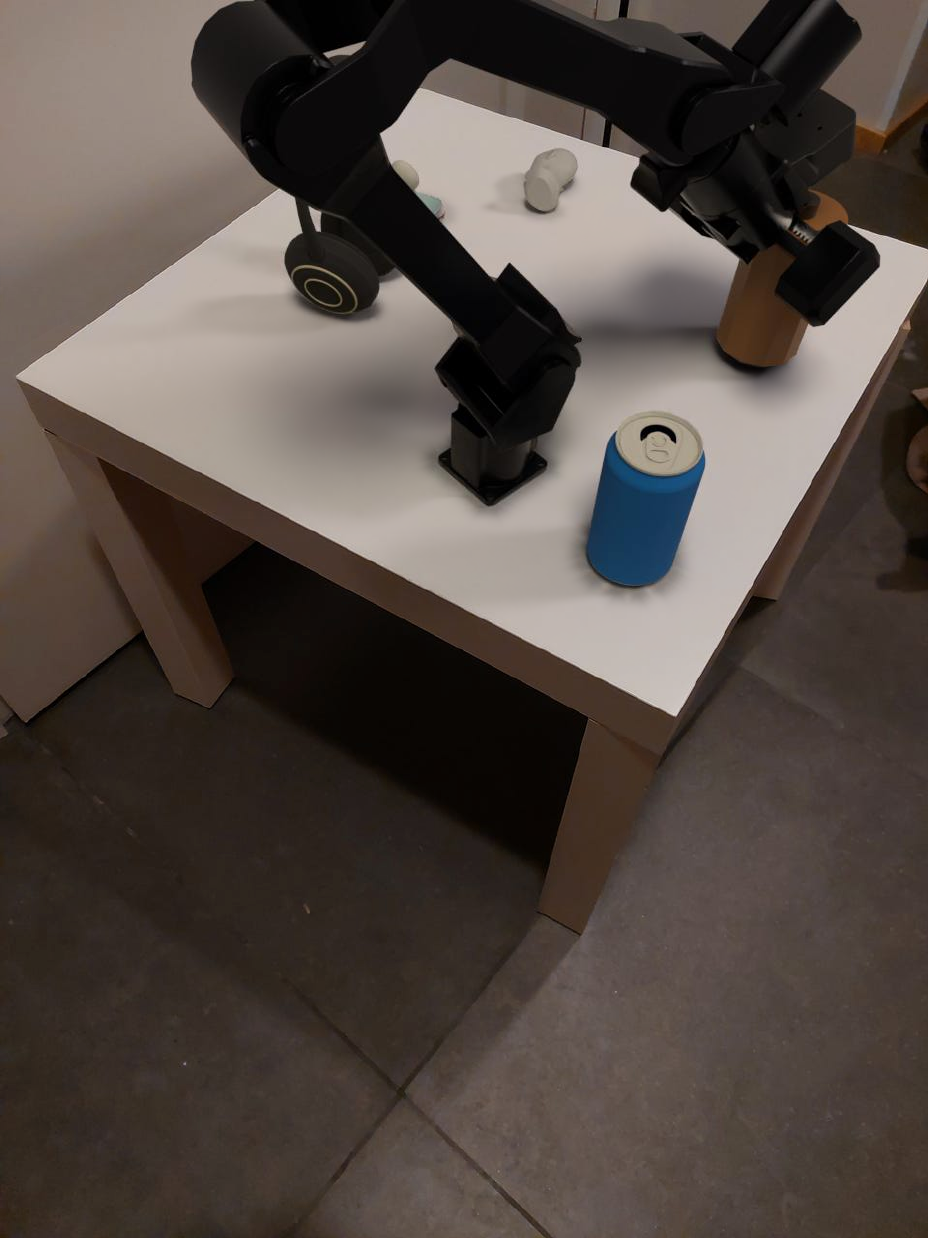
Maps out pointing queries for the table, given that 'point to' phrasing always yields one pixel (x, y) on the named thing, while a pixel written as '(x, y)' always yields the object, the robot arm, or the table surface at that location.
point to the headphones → (334, 261)
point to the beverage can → (644, 497)
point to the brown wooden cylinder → (769, 299)
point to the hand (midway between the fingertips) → (793, 268)
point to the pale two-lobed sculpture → (549, 177)
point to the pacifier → (413, 181)
